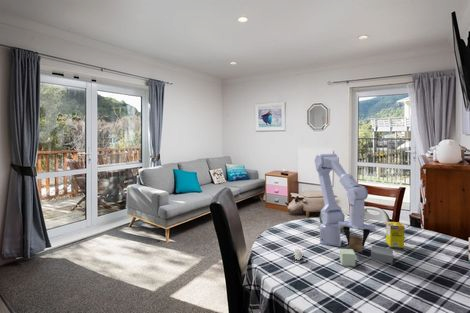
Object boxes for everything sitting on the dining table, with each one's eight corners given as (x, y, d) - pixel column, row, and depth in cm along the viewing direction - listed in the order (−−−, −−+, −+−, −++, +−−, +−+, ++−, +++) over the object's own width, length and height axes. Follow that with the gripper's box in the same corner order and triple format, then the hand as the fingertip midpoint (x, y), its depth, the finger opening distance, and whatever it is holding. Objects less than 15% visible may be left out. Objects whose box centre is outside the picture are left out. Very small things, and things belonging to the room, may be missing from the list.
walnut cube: (349, 250, 116) (349, 238, 116) (349, 245, 121) (350, 234, 120) (362, 252, 114) (362, 240, 114) (362, 247, 118) (362, 236, 118)
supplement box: (404, 249, 124) (404, 226, 123) (390, 248, 125) (390, 225, 124) (399, 244, 130) (399, 222, 129) (385, 243, 131) (386, 221, 130)
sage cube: (342, 265, 110) (342, 253, 109) (339, 260, 115) (339, 248, 114) (355, 266, 109) (355, 254, 108) (352, 260, 114) (352, 249, 113)
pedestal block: (370, 260, 114) (370, 252, 114) (371, 253, 121) (372, 245, 121) (392, 264, 110) (392, 256, 110) (392, 256, 117) (392, 249, 117)
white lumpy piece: (296, 253, 122) (296, 244, 122) (312, 259, 117) (312, 250, 116) (284, 260, 116) (284, 250, 116) (301, 266, 110) (301, 256, 110)
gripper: (337, 214, 116) (337, 245, 117) (375, 219, 109) (374, 251, 111) (339, 210, 122) (338, 239, 123) (375, 214, 116) (374, 245, 117)
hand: (355, 245), depth 117 cm, fingers closed on walnut cube, 5 cm apart
